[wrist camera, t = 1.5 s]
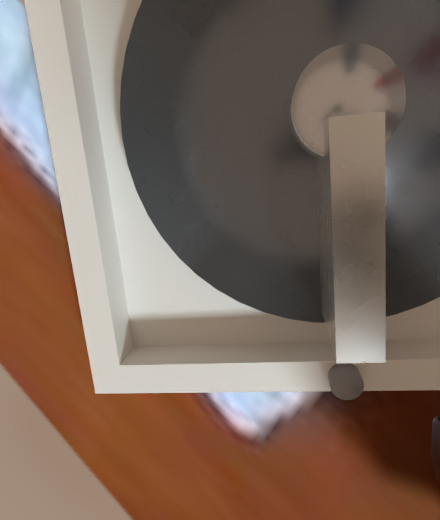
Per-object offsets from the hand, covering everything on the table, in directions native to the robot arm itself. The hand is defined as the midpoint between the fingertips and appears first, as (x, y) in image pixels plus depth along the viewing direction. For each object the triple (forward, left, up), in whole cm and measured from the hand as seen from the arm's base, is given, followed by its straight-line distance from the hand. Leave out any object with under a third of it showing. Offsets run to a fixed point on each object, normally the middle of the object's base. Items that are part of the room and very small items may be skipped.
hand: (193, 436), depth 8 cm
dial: (+7, -4, -12) cm, 14 cm away
